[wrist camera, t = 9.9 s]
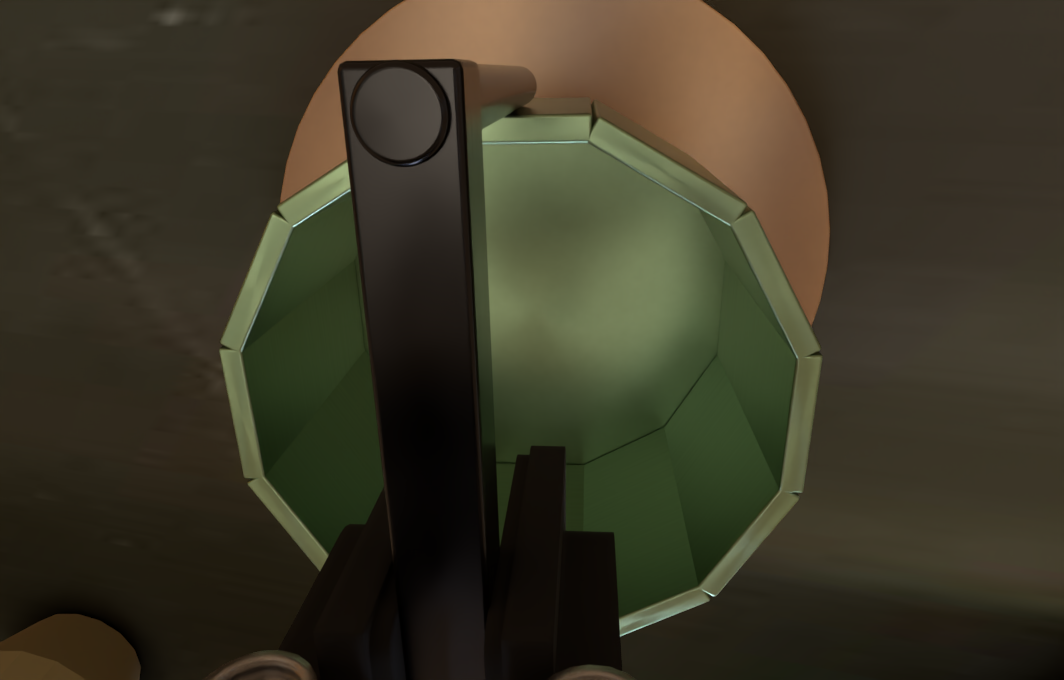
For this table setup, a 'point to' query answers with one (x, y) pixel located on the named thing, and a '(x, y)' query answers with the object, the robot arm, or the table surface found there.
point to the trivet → (622, 97)
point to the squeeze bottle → (68, 651)
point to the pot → (517, 348)
